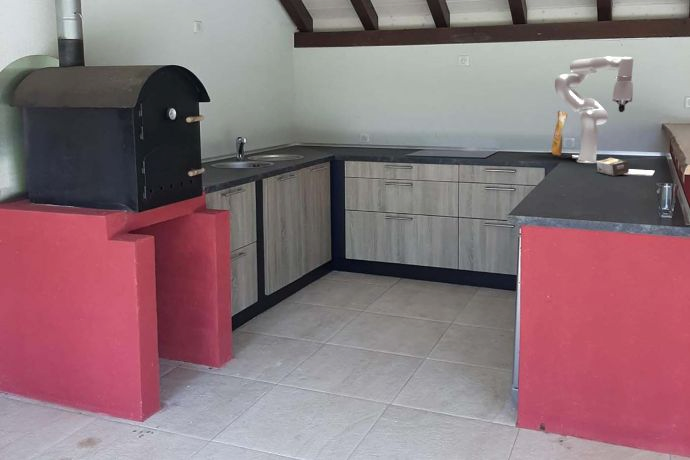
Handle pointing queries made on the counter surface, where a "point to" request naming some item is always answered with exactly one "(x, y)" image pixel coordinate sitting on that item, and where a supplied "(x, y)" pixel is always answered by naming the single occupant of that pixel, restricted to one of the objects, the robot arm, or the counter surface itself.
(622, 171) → the coffee box
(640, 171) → the mat
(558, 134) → the pancake mix bag
